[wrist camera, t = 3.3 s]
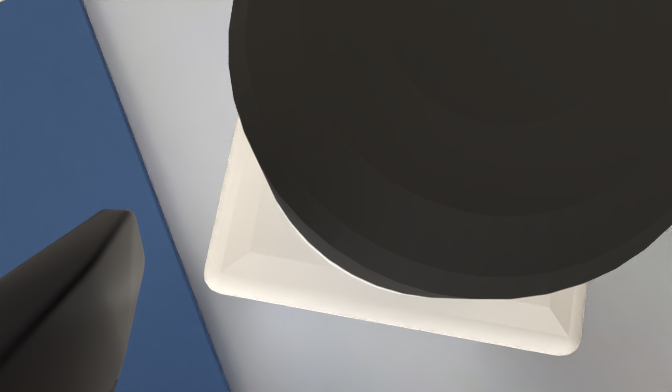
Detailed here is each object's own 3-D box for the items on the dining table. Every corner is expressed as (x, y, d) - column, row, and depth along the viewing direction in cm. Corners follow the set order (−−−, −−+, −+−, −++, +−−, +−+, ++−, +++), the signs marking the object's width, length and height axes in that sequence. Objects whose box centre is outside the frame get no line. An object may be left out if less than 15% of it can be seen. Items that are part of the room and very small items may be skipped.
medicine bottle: (478, 334, 17) (819, 420, 5) (246, 291, 17) (87, 286, 6) (508, 111, 19) (841, -211, 7) (291, 71, 19) (240, -319, 7)
